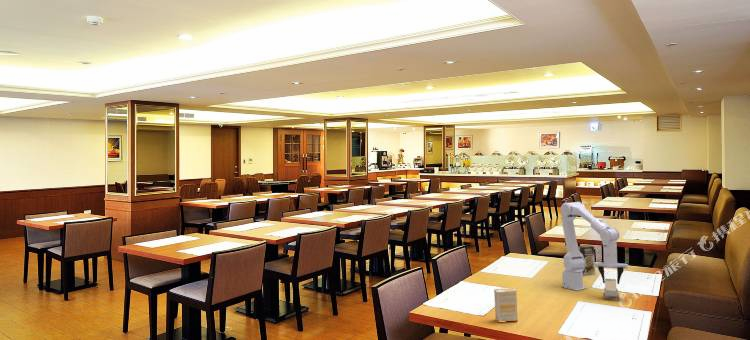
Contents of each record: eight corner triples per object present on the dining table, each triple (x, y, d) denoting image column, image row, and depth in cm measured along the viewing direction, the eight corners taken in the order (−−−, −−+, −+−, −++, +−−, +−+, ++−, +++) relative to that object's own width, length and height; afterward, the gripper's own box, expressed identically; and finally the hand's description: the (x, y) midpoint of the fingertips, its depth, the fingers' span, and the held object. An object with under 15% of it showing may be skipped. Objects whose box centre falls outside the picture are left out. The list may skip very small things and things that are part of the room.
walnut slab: (604, 301, 228) (604, 296, 228) (603, 297, 234) (603, 292, 234) (619, 302, 226) (619, 297, 226) (618, 298, 232) (618, 293, 232)
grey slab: (605, 295, 228) (604, 290, 228) (604, 292, 233) (604, 287, 233) (618, 296, 226) (618, 291, 226) (617, 293, 231) (617, 288, 231)
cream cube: (605, 290, 228) (605, 280, 228) (605, 287, 233) (605, 278, 232) (616, 291, 227) (616, 281, 227) (615, 288, 231) (615, 279, 231)
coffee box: (582, 276, 275) (581, 247, 275) (574, 273, 281) (573, 245, 281) (595, 274, 277) (594, 246, 277) (587, 272, 284) (587, 244, 283)
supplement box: (514, 318, 207) (513, 287, 207) (517, 322, 202) (516, 290, 202) (494, 319, 207) (493, 288, 207) (498, 323, 202) (497, 291, 202)
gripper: (593, 255, 228) (594, 284, 229) (628, 256, 223) (629, 286, 223) (593, 252, 235) (593, 280, 235) (626, 253, 229) (627, 282, 230)
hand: (611, 283), depth 230 cm, fingers open, 5 cm apart
